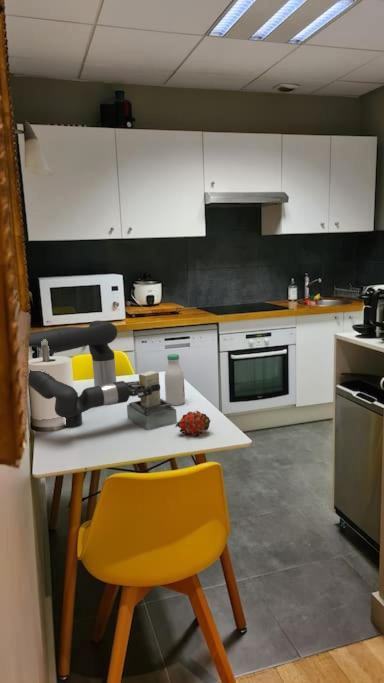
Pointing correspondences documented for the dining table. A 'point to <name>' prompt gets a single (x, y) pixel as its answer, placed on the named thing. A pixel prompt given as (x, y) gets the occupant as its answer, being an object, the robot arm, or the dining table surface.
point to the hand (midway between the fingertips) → (155, 385)
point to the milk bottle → (174, 381)
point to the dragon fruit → (193, 423)
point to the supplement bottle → (74, 420)
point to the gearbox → (152, 414)
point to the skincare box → (147, 380)
